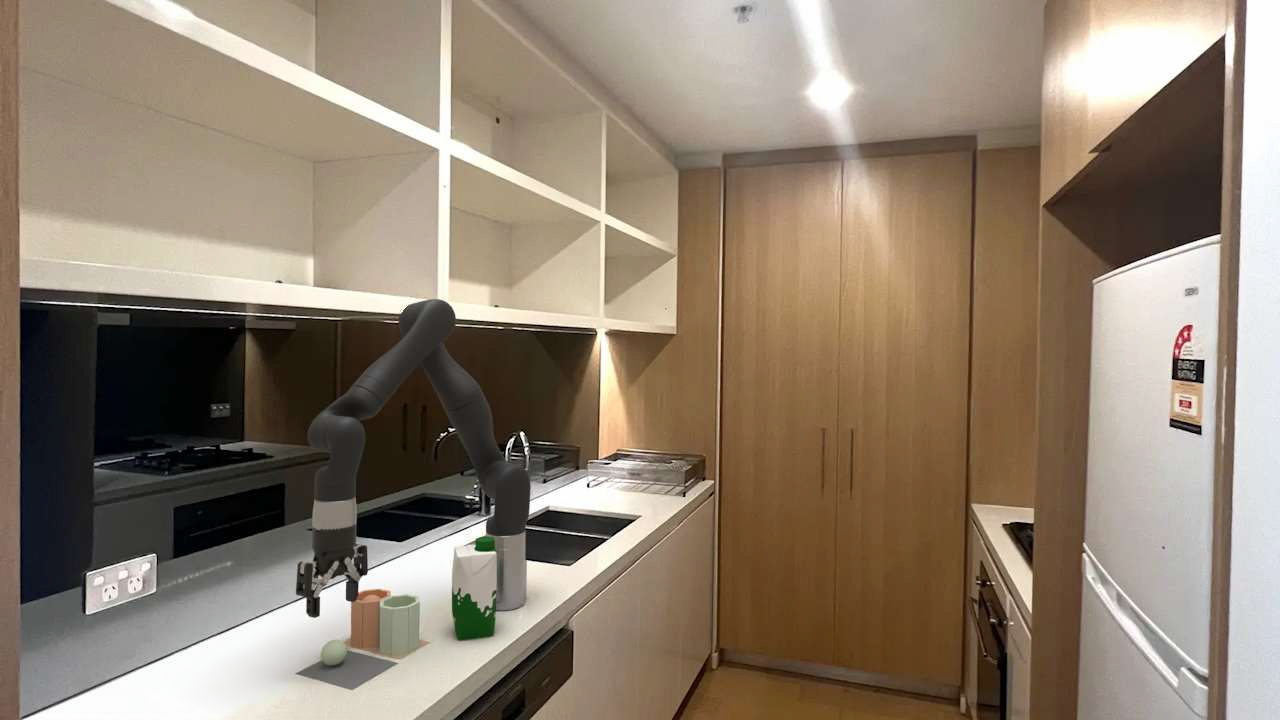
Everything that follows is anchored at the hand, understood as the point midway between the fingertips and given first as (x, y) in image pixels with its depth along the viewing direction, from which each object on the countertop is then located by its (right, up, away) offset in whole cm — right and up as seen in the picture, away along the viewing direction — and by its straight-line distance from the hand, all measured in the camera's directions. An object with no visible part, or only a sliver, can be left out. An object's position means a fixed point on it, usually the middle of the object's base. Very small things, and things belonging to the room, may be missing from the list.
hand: (333, 608), depth 124 cm
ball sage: (0, -11, 0) cm, 11 cm away
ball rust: (+3, -5, +10) cm, 12 cm away
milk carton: (+23, -12, +15) cm, 30 cm away
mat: (+3, -11, -1) cm, 12 cm away
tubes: (+6, -11, +9) cm, 16 cm away
